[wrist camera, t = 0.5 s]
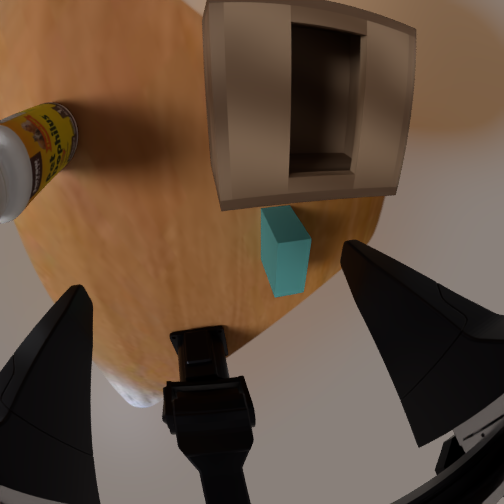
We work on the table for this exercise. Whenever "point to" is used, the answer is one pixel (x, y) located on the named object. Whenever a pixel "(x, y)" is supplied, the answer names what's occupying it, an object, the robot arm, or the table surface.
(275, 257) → the teal block
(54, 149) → the supplement bottle
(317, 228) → the table surface
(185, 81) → the table surface
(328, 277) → the table surface
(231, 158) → the wooden box
